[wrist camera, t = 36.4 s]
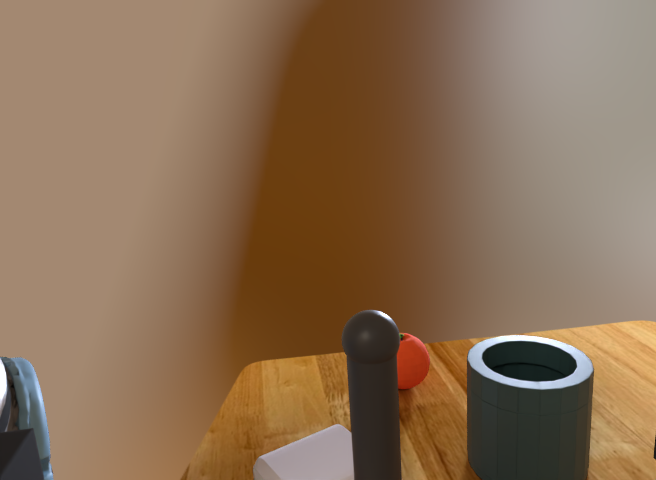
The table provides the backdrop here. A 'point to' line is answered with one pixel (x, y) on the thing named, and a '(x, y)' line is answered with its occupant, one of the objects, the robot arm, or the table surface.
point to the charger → (310, 458)
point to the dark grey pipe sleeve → (528, 409)
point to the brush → (373, 395)
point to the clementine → (411, 361)
